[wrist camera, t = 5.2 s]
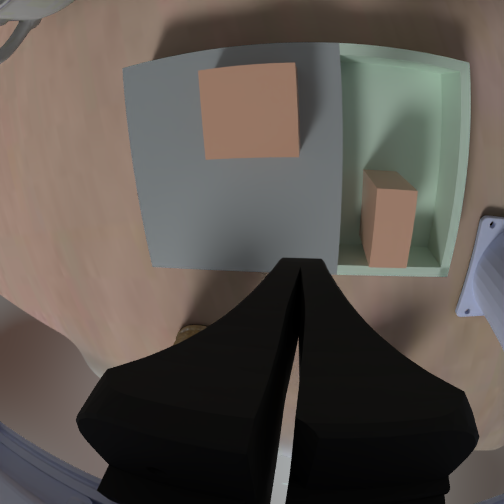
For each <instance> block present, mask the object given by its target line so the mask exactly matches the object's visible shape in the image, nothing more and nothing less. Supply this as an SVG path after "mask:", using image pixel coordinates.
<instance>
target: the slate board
mask: <svg viewBox="0 0 504 504" xmlns="http://www.w3.org/2000/svg"><path fill="white" fill-rule="evenodd" d="M294 62H295V64H296V66H297V75H298V94H299V116H300V147H301V151H300V156H299V157H265V158H232V159H211V160H206V158H205V148H204V137H203V126H202V115H201V103H200V90H199V76H198V71H199V70H205V69H213V68H221V67H230V66H240V65H252V64H267V63H294ZM123 82H124V94H125V104H126V114H127V123H128V132H129V140H130V147H131V154H132V161H133V168H134V174H135V180H136V186H137V192H138V198H139V204H140V209H141V214H142V219H143V225H144V230H145V234H146V239H147V244H148V248H149V253H150V257H151V262H152V266H153V267H165V268H183V269H204V270H225V271H248V272H270V271H271V270H272V269H273V268H274V267H275V265H276V264H277V263H278V261H279V260H280V259H281V258H318V259H322V260H323V261H324V262H325V264H326V266H327V268H328V270H329V272H330V274H333V275H337V267H338V254H339V240H340V223H341V202H342V168H343V116H342V84H341V64H340V49H339V43H326V42H292V43H269V44H254V45H243V46H234V47H225V48H217V49H210V50H204V51H197V52H192V53H186V54H181V55H176V56H171V57H166V58H161V59H157V60H153V61H148V62H144V63H140V64H137V65H133V66H129V67H125V68H123Z"/></svg>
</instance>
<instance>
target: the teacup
mask: <svg viewBox="0 0 504 504" xmlns="http://www.w3.org/2000/svg"><path fill="white" fill-rule="evenodd" d="M73 1H75V0H0V26H2V25H4V24H6V23H7V22H8V21H19V24H18V25H17V27H16V29H15V30H14V32H13V33H12V35H11V36H10V38H9V39H8V40H7V41H6V43H5V44H4V45H3V46H2V47H1V48H0V64H1V63H2V62H4V61H5V60H7V59H8V58H9V57H10V56H11V55H12V54H13V53H14V51H15V50H16V49H17V48H18V46H19V45H20V44H21V43H22V41H23V40H24V38H25V37H26V35H27V34H28V33H29V31H30V30H31V29H33V28H35V27H36V26H37V25H38V24H39V23H40V21H41V19H42V18H43V17H46V16H49V15H51V14H54V13H56V12H58V11H60V10H61V9H63V8H65V7H66V6H68V5H69V4H70V3H72V2H73Z"/></svg>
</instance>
